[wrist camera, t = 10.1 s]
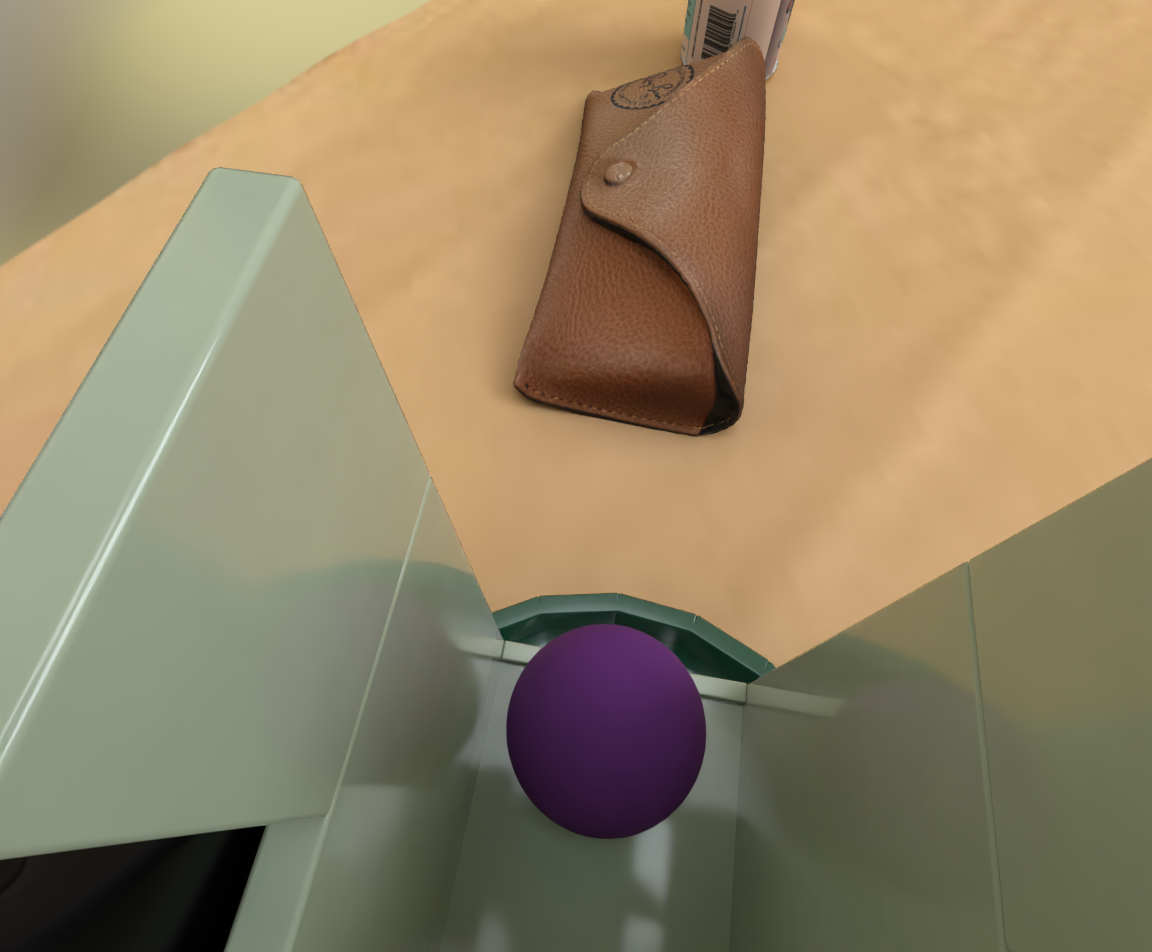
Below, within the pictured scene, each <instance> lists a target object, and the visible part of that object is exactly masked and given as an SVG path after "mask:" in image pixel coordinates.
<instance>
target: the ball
mask: <svg viewBox="0 0 1152 952" xmlns="http://www.w3.org/2000/svg"><path fill="white" fill-rule="evenodd" d="M506 736H507V747H508V753H509V757H510V761H511V764H512V767H513V770H514V773H515V775H516V777H517V779H518V782H519V784H520V786H521V787H522V789H523V790H524V792H525V793H526V795H527V796H528V798H529V799H530V801H531V802H532V803H533V804H534V805H535V806H536V807H537V808H538V809H539V810H540V811H541V812H542V813H543V814H544V815H545V816H546V817H548V818H549V819H550V820H552V821H553V822H554V823H556V824H557V825H559V826H561V827H563V828H565V829H567V830H569V831H571V832H573V833H576V834H579V835H583V836H587V837H592V838H600V839H616V838H625V837H630V836H634V835H637V834H639V833H642V832H644V831H647V830H649V829H651V828H653V827H655V826H656V825H658V824H659V823H661V822H662V821H664V820H665V819H667V818H668V817H669V816H670V815H671V814H672V813H673V812H674V811H675V810H676V809H677V808H678V807H679V806H680V805H681V804H682V802H683V801H684V800H685V798H686V797H687V796H688V794H689V793H690V791H691V789H692V787H693V785H694V784H695V782H696V780H697V777H698V775H699V772H700V769H701V766H702V762H703V758H704V753H705V748H706V720H705V714H704V709H703V704H702V700H701V697H700V694H699V691H698V689H697V687H696V685H695V683H694V681H693V679H692V677H691V675H690V674H689V672H688V671H687V669H686V667H685V666H684V665H683V663H682V662H681V661H680V660H679V659H678V657H677V656H676V655H675V654H674V653H673V652H672V651H670V650H669V649H668V648H667V647H666V646H665V645H664V644H662V643H661V642H659V641H658V640H656V639H655V638H653V637H651V636H649V635H647V634H645V633H644V632H641V631H639V630H636V629H633V628H630V627H626V626H620V625H613V624H597V625H588V626H584V627H580V628H576V629H573V630H571V631H568V632H566V633H564V634H562V635H560V636H558V637H557V638H555V639H553V640H552V641H550V642H549V643H548V644H546V645H545V646H544V647H543V648H541V649H540V650H539V651H538V652H537V653H536V654H535V655H534V657H533V658H532V659H531V660H530V661H529V662H528V664H527V665H526V667H525V668H524V670H523V671H522V673H521V675H520V677H519V679H518V681H517V682H516V685H515V687H514V690H513V693H512V695H511V698H510V702H509V707H508V712H507V722H506Z"/></svg>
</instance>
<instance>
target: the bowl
mask: <svg viewBox="0 0 1152 952" xmlns="http://www.w3.org/2000/svg"><path fill="white" fill-rule="evenodd" d="M492 615H493V617H494V619H495V622H496V624H497V626H498V628H499V631H500V633H501V635H502V637H503V640H504V642H505V641H511V642H517V643H522V644H528V645H534V646H539V647H544V646H545V645H546V644H548V643H549V642H550V641H552V640H553V639H555V638H557V637H558V636H560V635H562V634H564V633H566V632H568V631H571V630H573V629H576V628H580V627H584V626H588V625H597V624H613V625H620V626H626V627H630V628H633V629H636V630H639V631H641V632H644V633H645V634H647V635H649V636H651V637H653V638H655V639H656V640H658V641H659V642H661V643H662V644H664V645H665V646H666V647H667V648H668V649H669V650H670V651H672V652H673V653H674V654H675V655H676V656H677V657H678V659H679V660H680V661H681V662H682V663H683V665H684V666H685V667H686V669H687V671H688V672H689V673H692V674H697V675H703V676H709V677H714V678H720V679H726V680H731V681H737V682H743V683H746V684H749V683H751V682H752V681H754V680H756V679H758V678H759V677H761V676H763V675H765V674H767V673H768V672H770V671H772V670H774V669H775V668H776V667H775V666H774V665H773V664H772V663H771V662H769V660H768V659H766V658H765V657H763V656H762V655H760V654H758V653H757V652H755V651H754V650H752V649H750V648H749V647H747V646H746V645H744V644H743V643H741V642H739V641H738V640H736V639H735V638H733V637H732V636H730V635H728V634H727V633H725V632H724V631H722V630H721V629H719V628H717V627H716V626H714V625H713V624H711V623H710V622H708V621H706V620H705V619H703V618H702V617H700V616H696V615H695V614H693V613H690V612H686V611H682V610H679V609H675V608H672V607H668V606H664V605H661V604H657V603H653V602H650V601H646V600H643V599H639V598H635V597H632V596H628V595H624V594H618V593H600V594H574V595H548V596H539V597H534V598H532V599H529V600H526V601H523V602H520V603H518V604H515V605H512V606H509V607H507V608H504V609H501V610H498V611H496V612H493V613H492Z"/></svg>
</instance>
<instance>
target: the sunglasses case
mask: <svg viewBox="0 0 1152 952" xmlns="http://www.w3.org/2000/svg"><path fill="white" fill-rule="evenodd" d="M765 81H766V75H765V63H764V57H763V54H762V51H761V49H760V47H759V45H758V44H757V43H756V41H754V40H753V39H751V38H750V37H746V36H745V37H743V38H741V39H740V40H739V41H738V42H736V43H735V44H734V45H733V46H732V47H731V48H729V49H728V50H727V51H726V52H725V53H721V54H718V55H715V56H713V57H710V58H706V59H703V60H701V61H697V62H693V63H690V64H687V65H683V66H681V67H677V68H674V69H671V70H668V71H665V72H661V73H658V74H654V75H652V76H648V77H645V78H642V79H639V80H635V81H633V82H629V83H626V84H624V85H621V86H618V87H616V88H612V89H610V90H606V91H604V92H599V91H595V90H593V91H592V92H591V93H590V94H589V95H588V96H587V98H586V101H585V108H584V114H583V115H584V117H583V120H582V129H581V136H580V142H579V147H578V152H577V157H576V162H575V166H574V171H573V175H572V179H571V183H570V187H569V191H568V195H567V199H566V205H565V207H564V211H563V216H562V219H561V223H560V227H559V231H558V234H557V238H556V242H555V246H554V250H553V254H552V257H551V261H550V265H549V269H548V273H547V276H546V279H545V282H544V285H543V289H542V291H541V295H540V299H539V301H538V304H537V307H536V310H535V314H534V317H533V320H532V322H531V325H530V328H529V332H528V334H527V337H526V340H525V343H524V346H523V349H522V352H521V356H520V359H519V361H518V368H517V371H516V376H515V380H514V383H513V384H514V387H515V388H516V389H517V390H518V391H520V392H521V393H522V394H523V395H524V396H525V397H527V398H529V399H530V400H532V401H534V402H538V403H542V404H546V405H550V406H554V407H557V408H561V409H565V410H569V411H572V412H576V413H580V414H585V415H589V416H594V417H599V418H603V419H608V420H613V421H618V422H623V423H628V424H633V425H638V426H643V427H647V428H652V429H657V430H664V431H669V432H674V433H680V434H686V435H690V436H698V435H705V434H712V433H716V432H719V431H721V430H724V429H727V428H728V427H730V426H732V425H734V424H735V422H736V421H737V420H738V419H739V418H740V416H741V413H742V409H743V404H744V387H745V381H746V371H747V363H748V352H749V342H750V333H751V323H752V313H753V299H754V288H755V273H756V258H757V245H758V228H759V214H760V198H761V187H762V172H763V170H762V169H763V155H764V141H765V119H766V117H765V109H766V106H765V104H766V99H765V94H766V91H765Z"/></svg>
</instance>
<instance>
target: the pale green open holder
mask: <svg viewBox="0 0 1152 952" xmlns="http://www.w3.org/2000/svg"><path fill="white" fill-rule="evenodd" d="M541 648H543V647H539V646H534V645H528V644H522V643H517V642H511V641H505V642H504V640H503V637H502V635H501V633H500V631H499V628H498V626H497V624H496V622H495V619H494V617H493V615H492V613H491V610H490V608H489V606H488V604H487V601H486V599H485V597H484V594H483V592H482V590H481V588H480V585H479V583H478V581H477V579H476V576H475V574H474V572H473V570H472V567H471V565H470V563H469V561H468V558H467V556H466V554H465V551H464V549H463V547H462V545H461V542H460V540H459V538H458V536H457V533H456V531H455V529H454V527H453V524H452V522H451V520H450V518H449V515H448V513H447V511H446V509H445V506H444V504H443V502H442V499H441V497H440V495H439V493H438V490H437V488H436V486H435V484H434V481H433V479H432V477H431V476H430V473H429V470H428V468H427V465H426V463H425V461H424V459H423V456H422V454H421V452H420V450H419V447H418V445H417V443H416V441H415V438H414V436H413V434H412V431H411V429H410V427H409V425H408V422H407V420H406V418H405V416H404V413H403V411H402V409H401V407H400V404H399V402H398V400H397V398H396V395H395V393H394V391H393V388H392V386H391V384H390V382H389V379H388V377H387V375H386V373H385V370H384V368H383V366H382V364H381V361H380V359H379V357H378V355H377V352H376V350H375V348H374V346H373V343H372V341H371V339H370V336H369V334H368V332H367V330H366V327H365V325H364V323H363V321H362V318H361V316H360V314H359V312H358V309H357V307H356V305H355V303H354V300H353V298H352V296H351V293H350V291H349V289H348V287H347V284H346V282H345V280H344V278H343V275H342V273H341V271H340V269H339V266H338V264H337V262H336V260H335V257H334V255H333V253H332V250H331V248H330V246H329V244H328V241H327V239H326V237H325V235H324V232H323V230H322V228H321V226H320V223H319V221H318V219H317V217H316V214H315V212H314V210H313V207H312V205H311V203H310V201H309V198H308V196H307V194H306V192H305V189H304V187H303V185H302V184H301V183H300V181H299V180H297V179H295V178H293V177H290V176H283V175H276V174H268V173H261V172H253V171H246V170H238V169H231V168H223V167H219V168H215V169H213V170H211V171H210V172H209V173H208V175H207V176H206V178H205V180H204V181H203V183H202V185H201V186H200V188H199V190H198V191H197V193H196V195H195V196H194V198H193V200H192V201H191V203H190V205H189V206H188V208H187V209H186V211H185V213H184V214H183V216H182V218H181V219H180V221H179V223H178V224H177V226H176V228H175V229H174V231H173V233H172V234H171V236H170V238H169V239H168V241H167V243H166V244H165V246H164V248H163V249H162V251H161V252H160V254H159V256H158V257H157V259H156V261H155V262H154V264H153V266H152V267H151V269H150V271H149V272H148V274H147V276H146V277H145V279H144V281H143V282H142V284H141V286H140V287H139V289H138V291H137V292H136V294H135V295H134V297H133V299H132V300H131V302H130V304H129V305H128V307H127V309H126V310H125V312H124V314H123V315H122V317H121V319H120V320H119V322H118V324H117V325H116V327H115V329H114V330H113V332H112V334H111V335H110V337H109V338H108V340H107V342H106V343H105V345H104V347H103V348H102V350H101V352H100V353H99V355H98V357H97V358H96V360H95V362H94V363H93V365H92V367H91V368H90V370H89V372H88V373H87V375H86V377H85V378H84V380H83V381H82V383H81V385H80V386H79V388H78V390H77V391H76V393H75V395H74V396H73V398H72V400H71V401H70V403H69V405H68V406H67V408H66V410H65V411H64V413H63V415H62V416H61V418H60V420H59V421H58V423H57V424H56V426H55V428H54V429H53V431H52V433H51V434H50V436H49V438H48V439H47V441H46V443H45V444H44V446H43V448H42V449H41V451H40V453H39V454H38V456H37V458H36V459H35V461H34V463H33V464H32V466H31V467H30V469H29V471H28V472H27V474H26V476H25V477H24V479H23V481H22V482H21V484H20V486H19V487H18V489H17V491H16V492H15V494H14V496H13V497H12V499H11V501H10V502H9V504H8V506H7V507H6V509H5V510H4V512H3V514H2V515H1V517H0V861H2V860H10V859H17V858H25V857H32V856H40V855H47V854H55V853H62V852H70V851H77V850H85V849H92V848H100V847H107V846H115V845H122V844H130V843H137V842H145V841H152V840H160V839H167V838H175V837H183V836H190V835H198V834H205V833H213V832H220V831H228V830H235V829H243V828H250V827H258V826H265V825H266V827H265V830H264V833H263V836H262V839H261V842H260V845H259V848H258V851H257V854H256V857H255V860H254V863H253V866H252V869H251V872H250V875H249V877H248V880H247V883H246V886H245V889H244V892H243V895H242V898H241V901H240V904H239V907H238V910H237V913H236V916H235V919H234V922H233V925H232V928H231V931H230V934H229V937H228V940H227V943H226V946H225V949H224V952H1152V458H1150V459H1149V460H1147V461H1145V462H1143V463H1142V464H1140V465H1138V466H1136V467H1134V468H1133V469H1131V470H1129V471H1127V472H1125V473H1124V474H1122V475H1120V476H1118V477H1117V478H1115V479H1113V480H1111V481H1109V482H1108V483H1106V484H1104V485H1102V486H1101V487H1099V488H1097V489H1095V490H1093V491H1092V492H1090V493H1088V494H1086V495H1084V496H1083V497H1081V498H1079V499H1077V500H1076V501H1074V502H1072V503H1070V504H1068V505H1067V506H1065V507H1063V508H1061V509H1059V510H1058V511H1056V512H1054V513H1052V514H1051V515H1049V516H1047V517H1045V518H1043V519H1042V520H1040V521H1038V522H1036V523H1035V524H1033V525H1031V526H1029V527H1027V528H1026V529H1024V530H1022V531H1020V532H1018V533H1017V534H1015V535H1013V536H1011V537H1010V538H1008V539H1006V540H1004V541H1002V542H1001V543H999V544H997V545H995V546H994V547H992V548H990V549H988V550H986V551H985V552H983V553H981V554H979V555H977V556H976V557H974V558H972V559H971V560H970V561H969V562H965V563H962V564H960V565H959V566H957V567H955V568H953V569H952V570H950V571H948V572H946V573H944V574H943V575H941V576H939V577H937V578H936V579H934V580H932V581H930V582H928V583H927V584H925V585H923V586H921V587H920V588H918V589H916V590H914V591H912V592H911V593H909V594H907V595H905V596H904V597H902V598H900V599H898V600H896V601H895V602H893V603H891V604H889V605H888V606H886V607H884V608H882V609H880V610H879V611H877V612H875V613H873V614H872V615H870V616H868V617H866V618H864V619H863V620H861V621H859V622H857V623H855V624H854V625H852V626H850V627H848V628H847V629H845V630H843V631H841V632H839V633H838V634H836V635H834V636H832V637H831V638H829V639H827V640H825V641H823V642H822V643H820V644H818V645H816V646H815V647H813V648H811V649H809V650H807V651H806V652H804V653H802V654H800V655H799V656H797V657H795V658H793V659H791V660H790V661H788V662H786V663H784V664H783V665H781V666H779V667H777V668H775V669H774V670H772V671H770V672H768V673H767V674H765V675H763V676H761V677H759V678H758V679H756V680H754V681H752V682H751V683H749V684H746V683H743V682H737V681H731V680H726V679H720V678H714V677H709V676H703V675H697V674H692V673H689V674H690V675H691V677H692V679H693V681H694V683H695V685H696V687H697V689H698V691H699V694H700V697H701V700H702V704H703V709H704V714H705V720H706V748H705V753H704V758H703V762H702V766H701V769H700V772H699V775H698V777H697V780H696V782H695V784H694V785H693V787H692V789H691V791H690V793H689V794H688V796H687V797H686V798H685V800H684V801H683V802H682V804H681V805H680V806H679V807H678V808H677V809H676V810H675V811H674V812H673V813H672V814H671V815H670V816H669V817H668V818H667V819H665V820H664V821H662V822H661V823H659V824H658V825H656V826H655V827H653V828H651V829H649V830H647V831H644V832H642V833H639V834H637V835H634V836H630V837H625V838H616V839H600V838H592V837H587V836H583V835H579V834H576V833H573V832H571V831H569V830H567V829H565V828H563V827H561V826H559V825H557V824H556V823H554V822H553V821H552V820H550V819H549V818H548V817H546V816H545V815H544V814H543V813H542V812H541V811H540V810H539V809H538V808H537V807H536V806H535V805H534V804H533V803H532V802H531V801H530V799H529V798H528V796H527V795H526V793H525V792H524V790H523V789H522V787H521V786H520V784H519V782H518V779H517V777H516V775H515V773H514V770H513V767H512V764H511V761H510V757H509V753H508V747H507V736H506V722H507V712H508V707H509V702H510V698H511V695H512V693H513V690H514V687H515V685H516V682H517V681H518V679H519V677H520V675H521V673H522V671H523V670H524V668H525V667H526V665H527V664H528V662H529V661H530V660H531V659H532V658H533V657H534V655H535V654H536V653H537V652H538V651H539V650H540V649H541Z"/></svg>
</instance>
